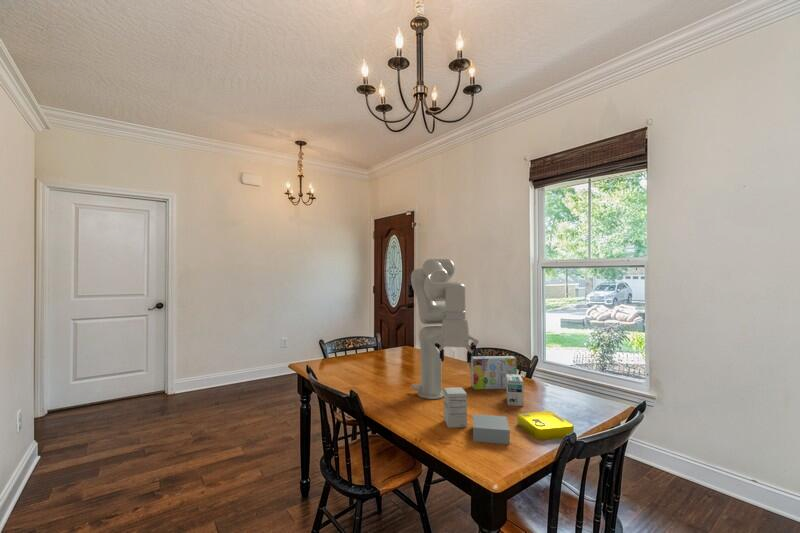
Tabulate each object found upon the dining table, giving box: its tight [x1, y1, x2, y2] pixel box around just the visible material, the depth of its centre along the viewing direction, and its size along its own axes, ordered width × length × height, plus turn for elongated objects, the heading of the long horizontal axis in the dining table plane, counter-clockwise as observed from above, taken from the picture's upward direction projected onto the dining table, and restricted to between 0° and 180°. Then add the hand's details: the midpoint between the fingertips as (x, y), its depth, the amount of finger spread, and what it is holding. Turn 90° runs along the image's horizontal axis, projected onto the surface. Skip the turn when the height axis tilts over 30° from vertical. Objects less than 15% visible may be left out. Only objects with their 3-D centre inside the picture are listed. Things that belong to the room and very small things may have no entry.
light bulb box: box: [505, 374, 525, 407], centre depth 169 cm, size 11×7×11 cm, turn 168°
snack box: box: [470, 355, 518, 390], centre depth 188 cm, size 21×6×15 cm, turn 92°
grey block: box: [472, 413, 511, 445], centre depth 135 cm, size 12×12×5 cm
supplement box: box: [443, 386, 468, 429], centre depth 145 cm, size 7×7×13 cm
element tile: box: [516, 410, 575, 442], centre depth 140 cm, size 15×15×5 cm
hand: (455, 361), depth 145 cm, fingers open, 9 cm apart
